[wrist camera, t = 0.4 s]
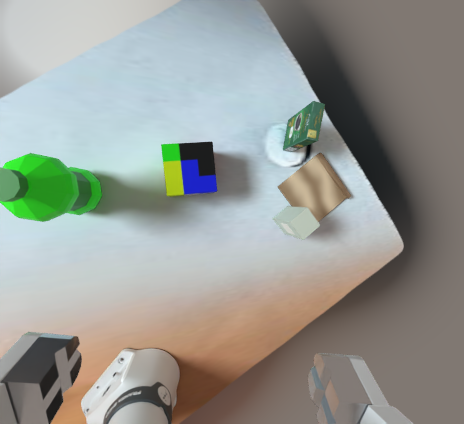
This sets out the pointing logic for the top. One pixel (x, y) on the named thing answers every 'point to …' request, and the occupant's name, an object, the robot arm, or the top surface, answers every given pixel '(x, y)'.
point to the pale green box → (296, 221)
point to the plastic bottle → (46, 188)
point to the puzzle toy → (189, 168)
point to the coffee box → (304, 127)
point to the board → (315, 187)
